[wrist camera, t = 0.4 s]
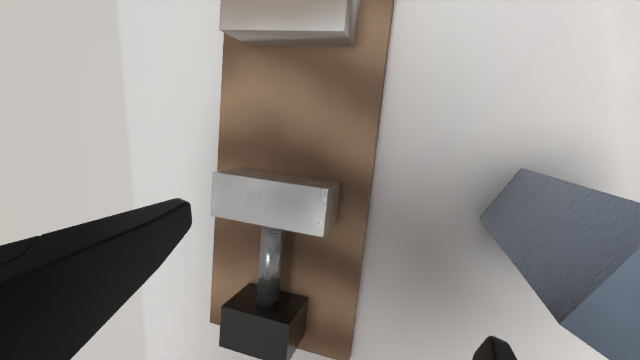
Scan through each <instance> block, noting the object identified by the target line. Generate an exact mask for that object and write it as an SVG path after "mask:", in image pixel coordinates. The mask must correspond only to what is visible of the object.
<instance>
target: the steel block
mask: <svg viewBox="0 0 640 360" xmlns="http://www.w3.org/2000/svg"><path fill="white" fill-rule="evenodd" d="M480 219H481V221H482V222H483V223H484V225H485V226H486V227H487V229H488V230H489V231H490V233H491V234H492V235H493V237H494V238H495V239H496V241H497V242H498V243H499V245H500V246H501V247H502V249H503V250H504V251H505V253H506V254H507V255H508V257H509V258H510V259H511V261H512V262H513V263H514V265H515V266H516V267H517V269H518V270H519V271H520V273H521V274H522V275H523V277H524V278H525V279H526V281H527V282H528V283H529V284H530V286H531V287H532V288H533V290H534V291H535V292H536V294H537V295H538V296H539V298H540V299H541V300H542V302H543V303H544V304H545V306H546V307H547V308H548V310H549V311H550V312H551V314H552V315H553V316H554V318H555V319H556V320H557V322H558V323H559V324H560V325H561V326H563V327H564V328H565V329H567V330H568V331H570V332H571V333H572V334H574V335H575V336H577V337H578V338H579V339H581V340H582V341H584V342H585V343H587V344H588V345H589V346H591V347H592V348H594V349H595V350H596V351H598V352H599V353H601V354H602V355H603V356H605V357H606V358H608V359H609V360H640V203H638V202H635V201H632V200H628V199H625V198H621V197H618V196H614V195H611V194H607V193H604V192H601V191H597V190H594V189H590V188H587V187H583V186H580V185H577V184H573V183H570V182H566V181H563V180H559V179H556V178H552V177H549V176H546V175H542V174H539V173H535V172H532V171H528V170H525V169H521V170H520V171H519V172H518V173H517V174H516V176H515V177H514V178H513V179H512V180H511V181H510V183H509V184H508V185H507V186H506V187H505V188H504V190H503V191H502V192H501V193H500V194H499V195H498V197H497V198H496V199H495V200H494V201H493V203H492V204H491V205H490V206H489V207H488V208H487V210H486V211H485V212H484V213H483V214H482V215H481V217H480Z"/></svg>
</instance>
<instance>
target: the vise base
mask: <svg viewBox="0 0 640 360" xmlns="http://www.w3.org/2000/svg"><path fill="white" fill-rule="evenodd" d="M393 6H394V0H221V6H220V27H219V30H221V31H223V32H224V44H223V64H222V85H221V106H220V126H219V147H218V168H217V171H223V170H229V169H236V168H243V169H250V170H257V171H264V172H271V173H278V174H285V175H292V176H299V177H306V178H313V179H320V180H327V181H334V182H341V184H340V193H339V202H338V212H337V221H336V225H335V226H334V227H333V228H332V229H331V230H330V231H329V232H328V233H327V234H326V235H325V236H324V237H319V236H314V235H309V234H303V233H298V232H293V231H288V230H285V233H284V245H283V257H282V269H281V281H280V291H284V292H288V293H292V294H296V295H300V296H304V297H308V309H307V319H306V329H305V335H304V337H303V338H302V340H301V342H300V343H299V345H298V347H297V348H298V349H302V350H305V351H308V352H312V353H315V354H318V355H322V356H325V357H329V358H332V359H335V360H349V359H350V356H351V349H352V341H353V333H354V325H355V317H356V309H357V300H358V292H359V284H360V276H361V268H362V260H363V251H364V243H365V235H366V227H367V219H368V210H369V202H370V194H371V186H372V178H373V170H374V161H375V153H376V145H377V137H378V129H379V120H380V112H381V104H382V96H383V88H384V80H385V71H386V63H387V55H388V47H389V39H390V31H391V22H392V14H393ZM261 229H262V225H257V224H251V223H246V222H241V221H236V220H231V219H225V218H220V217H215V230H214V250H213V271H212V292H211V312H210V323H214V324H217V325H220V322H221V306H222V305H223V304H224V303H226V302H227V301H228V300H229V299H230V298H232V297H233V296H234V295H235V294H236V293H238V292H239V291H240V290H241V289H242V288H243V287H245V286H246V285H247V284H248V283H252V284H256V285H258V271H259V257H260V243H261Z"/></svg>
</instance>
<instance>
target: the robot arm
mask: <svg viewBox="0 0 640 360" xmlns="http://www.w3.org/2000/svg"><path fill="white" fill-rule="evenodd" d="M191 225H192V215H191V205H190V203H189V202H187V201H185V200H182V199H180V198H175V199H171V200H168V201H164V202H160V203H157V204H153V205H149V206H146V207H142V208H138V209H135V210H131V211H127V212H124V213H120V214H116V215H113V216H109V217H105V218H102V219H98V220H94V221H91V222H87V223H83V224H80V225H76V226H72V227H68V228H65V229H61V230H57V231H54V232H50V233H46V234H43V235H41V236H35V237H32V238H28V239H24V240H20V241H17V242H13V243H8V244H5V245H1V246H0V360H70V359H71V358H72V357H73V356H74V355H75V354H76V353H77V352H78V351H79V350H80V349H81V348H82V347H83V346H84V345H85V344H86V343H87V342H88V341H89V340H90V339H91V338H92V336H93V335H94V334H95V333H96V332H97V331H98V330H99V329H100V328H101V327H102V326H103V325H104V324H105V323H106V322H107V321H108V320H109V319H110V318H111V317H112V316H113V315H114V314H115V313H116V312H117V311H118V309H119V308H120V307H121V306H122V305H123V304H124V303H125V302H126V301H127V300H128V299H129V298H130V297H131V296H132V295H133V294H134V293H135V292H136V291H137V290H138V289H139V288H140V287H141V286H142V285H143V284H144V283H145V282H146V281H147V279H148V278H149V277H150V276H151V275H152V274H153V273H154V272H155V271H156V270H157V269H158V268H159V267H160V266H161V264H162V263H163V262H164V261H165V259H166V258H167V257H168V256H169V254H170V253H171V252H172V251H173V249H174V248H175V247H176V246H177V244H178V243H179V242H180V240H181V239H182V238H183V237H184V235H185V234H186V233H187V232H188V230H189V229H190V227H191ZM472 360H517V358H516V357H515V355H514V353H513V351H512V349H511V347H510V345H509V344H508V343H507V342H505V341H503V340H501V339H499V338H496V337H494V336H488V337H487V338H486V339H485V341H484V342H483V343H482V344H481V345H480V347H479V348H478V349H477V350H476V352H475V354H474V356H473V359H472Z"/></svg>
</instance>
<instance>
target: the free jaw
mask: <svg viewBox="0 0 640 360" xmlns="http://www.w3.org/2000/svg"><path fill="white" fill-rule="evenodd" d="M340 184H341V182H334V181H327V180H320V179H313V178H306V177H299V176H292V175H285V174H278V173H271V172H264V171H257V170H250V169H243V168H236V169H229V170H223V171H217V172H213V178H212V200H211V216H215V217H220V218H225V219H231V220H236V221H241V222H246V223H251V224H257V225H262V229H261V243H260V257H259V271H258V285H256V284H252V283H248V284H247V285H246V286H245V287H243V288H242V289H241V290H240V291H239V292H238V293H236V294H235V295H234V296H233V297H232V298H230V299H229V300H228V301H227V302H226V303H224V304H223V305H222V306H221V322H220V340H219V346H221V347H224V348H227V349H230V350H233V351H236V352H240V353H243V354H246V355H249V356H252V357H255V358H258V359H262V360H290V359H291V357H292V355H293V354H294V352H295V350H296V349H297V347H298V345H299V343H300V342H301V340H302V338H303V337H304V335H305V329H306V319H307V309H308V297H304V296H300V295H296V294H292V293H288V292H284V291H280V281H281V269H282V257H283V245H284V233H285V230H288V231H293V232H298V233H303V234H309V235H314V236H319V237H324V236H325V235H326V234H327V233H328V232H329V231H330V230H331V229H332V228H333V227H334V226H335V225H336V221H337V212H338V202H339V193H340Z"/></svg>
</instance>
